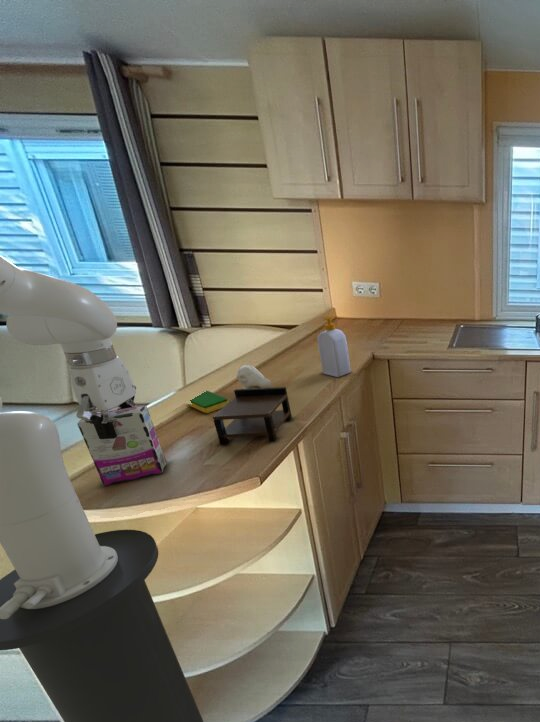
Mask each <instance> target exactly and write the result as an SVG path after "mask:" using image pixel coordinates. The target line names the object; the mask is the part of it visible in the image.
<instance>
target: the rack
mask: <svg viewBox="0 0 540 722" xmlns="http://www.w3.org/2000/svg"><path fill="white" fill-rule="evenodd" d="M233 393H234V396H235V397H233V398H232V400H230V401H228V402H229V403H228V404H227V405H226V406H225V407H223V408H220V409H219V411H217V412H216V413H215V414H214V415H213V416H212V420H213V424H214V427H215V431H216V435H217V437H218V438H217V439H218V442H219V445H220V446H226V445H227V444H228V443H229V442H230V440H229V439H232V438H233V439H234V438H249V437H263V436H265V437H266V436H267V437H268V442H269V443H270V442H276V441H277V439H278V438H277V434H276V433H277V431H278V430H279V429H280V428H281V426H282V425H283V424H284V422H290V421H292V419H293V415H292V411H291V406H290V401H289V396H288V391H287V387H286V386H280V387H279V386H278V387H269V388H261V387H258V388H257V387H256V388H248V389H244V388H240V389H239V388H238V389H234V390H233ZM281 405H282V406H281ZM280 406H281V407H282V409H279V410H278V408H279V407H280ZM224 420H225V421H226V420H232V421H231V422H230V423H229V424H228V425H227V426H225V422H224Z"/></svg>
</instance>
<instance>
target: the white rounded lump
mask: <svg viewBox="0 0 540 722" xmlns="http://www.w3.org/2000/svg"><path fill="white" fill-rule="evenodd" d="M236 379H237V381H238V382H239V383H240V385H241V386H242V389H249V388H250V387H258V388H271V387H272V381H271V380H270V379H269V378H266V377H265V375H263V374H262V373H261V372H260V370H258V368H256V367H254V366H253V365H250V364H244V365H242V366H241V367H239V368H238V370H237V373H236Z"/></svg>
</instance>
